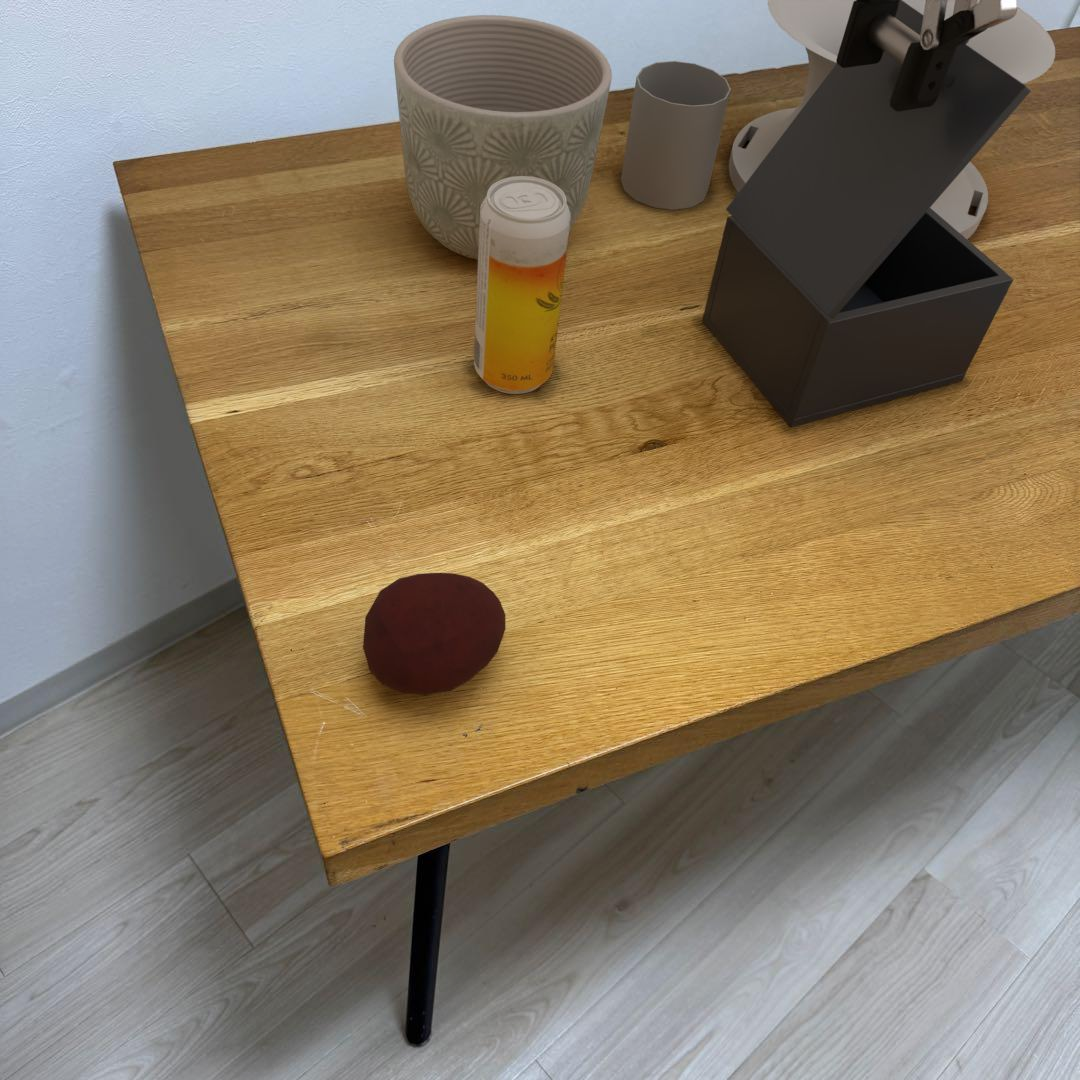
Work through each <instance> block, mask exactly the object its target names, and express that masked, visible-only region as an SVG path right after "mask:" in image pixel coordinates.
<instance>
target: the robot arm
mask: <svg viewBox="0 0 1080 1080" xmlns="http://www.w3.org/2000/svg"><path fill="white" fill-rule="evenodd" d="M899 1H900V0H856V1H854V2H853V6H852V9H851V12H850V16H849V19H848V22H847V26H846V29H845V32H844V36H843V39H842V43H841V46H840V49H839V53H838V56H837V60H836V62H837V64H838V65H839V66H841V67H842V68H847V67H855V66H862V65H870V64H876V63H878V62H879V61H880V60H881V58H882V55H883V52H884V50H882V49H881V48H880V47H878V46H877V45H876V44H874V43H873V42H872V41H870V40H869V37H868V30H869V27H870V25H871V23H872V22H873V20H874V19H875V18H876V17H877V16H879V15H880V14H883V13H889V14H890V15H892V16H893V17H895V16H896V13H897V10H898V4H899ZM946 7H947V0H926V2H925V8H924V15H923V22H922V28H921V35H920V42H915V43H911V44H910V46H909V47H908V50H907V53H906V56H905V59H904V61H903V64H902V67H901V70H900V73H899V76H898V79H897V82H896V85H895V87H894V90H893V93H892V96H891V99H890V107H891V108H893V109H894V110H895V111H897V112H898V111H905V110H911V109H918V108H924V107H930V106H932V105H933V104H934V103H935V102H936V100H937V97H938V95H939V92H940V89H941V87H942V84H943V81H944V79H945V76H946V74H947V71H948V68H949V66H950V63H951V60H952V58H953V55H954V53H955V50H956V47H957V46H962V45H965V44H967V43H968V42H969V40H970V39H971V38H973V37H974V36H976V35H978V34H980V33H982V32H983V31H985V30H986V29H987V28H989V27H993V26H995V25H998V24H1000V23H1002V22H1005V21H1007V20H1010V19H1012V18H1013V17H1014V16H1015V15H1016V13H1017V9H1018V8H1019V5H1018V0H980V2H979V3H978V4H977V0H955V5H954V11H953V16H951V17H949V18H948V19H946V20H944V19H945V13H946Z"/></svg>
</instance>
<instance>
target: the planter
mask: <svg viewBox="0 0 1080 1080" xmlns="http://www.w3.org/2000/svg"><path fill="white" fill-rule="evenodd" d="M393 68H394V79H395V88H396V99H397V108H398V118H399V119H398V121H399V130H400V138H401V139H400V140H401V149H402V159H403V160H402V161H403V169H404V170H403V171H404V178H405V183H406V188H407V193H408V197H409V200H410V202H411V205H412V207H413V209H414V212H415V214H416V216H417V218H418V220H419V221H420V224H421V225H422V226H423V228H424V229H425V230H426V231H427V232H428V233H429V235H430V236H432V237H433V238H434V239H435V240H436V241H437V242H438V243H439V244H440V245H442V246H443V247H445V248H447V249H448V250H450V251H451V252H454V253H455V254H457V255H460V256H462V257H466V258H469V259H473V260H477V261H478V250H479V225H480V207H481V204H482V203H483V201H484V199H485V198H486V196H487V192H488V190H489V188H490V187H491V186H492V185H493V184H494V183H496V182H497V181H499V180H502V179H505V178H509V177H516V176H528V177H535V178H540V179H543V180H546V181H549V182H551V183H553V184H554V185H556V186H557V187H559V188H560V189H561V190H562V191H563V192H564V194H565V196H566V203H567V205H568V208H569V210H570V214H571V220H570V229H569V233H570V232H571V230H572V229H573V228H574V226H575V225H576V223H577V221H578V219H579V218H580V216H581V213H582V211H583V209H584V207H585V204H586V201H587V198H588V194H589V191H590V186H591V181H592V178H593V177H592V176H593V173H594V172H593V171H594V167H595V161H596V158H597V153H598V149H599V148H598V147H599V141H600V137H601V133H602V129H603V128H602V127H603V124H604V120H605V119H604V118H605V113H606V108H607V105H608V104H607V103H608V99H609V95H610V89H611V84H612V79H613V73H612V68H611V64H610V63H609V61H608V58H607V57H606V56H605V54H604V53H603V52H602V51H601V50H600V49H599V48H598V47H597V46H596V45H595V44H593V43H592V42H590V41H589V40H587V39H586V38H584V37H582V36H581V35H579V34H577V33H575V32H573V31H571V30H568V29H566V28H563V27H560V26H557V25H555V24H551V23H548V22H545V21H540V20H537V19H532V18H525V17H521V16H519V17H518V16H510V15H496V14H478V15H476V14H475V15H463V16H456V17H451V18H445V19H442V20H439V21H435V22H432V23H428V24H426V25H424V26H422V27H419V28H417V29H416V30H414V31H412V32H411V33H409V34H407V36H406V37H404V38H403V40H402V41H401V42H400V43H399V44H398V46H397V48H396V50H395V52H394V56H393Z"/></svg>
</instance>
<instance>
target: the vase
mask: <svg viewBox="0 0 1080 1080" xmlns="http://www.w3.org/2000/svg"><path fill="white" fill-rule="evenodd" d="M854 1H856V0H767V8H768V11H769V13H770V15H771V17H772V18H773V20H774V22H775V23H776V24H777V26H778V27H779V28H780V29H781V30H783V32H784V33H785V34H787V35H788V36H789V37H791V38H792V39H793V40H794V41H795V42H797V43H798V44H800V45H801V46H803V47H804V48H805V51H806V54H807V60H808V66H809V67H808V80H807V84H806V87H805V91H804V94H803V96H802V98H801V100H800V102H799V103H798V105H797V107H791V108H783V109H780V110H775V111H772V112H769V113H767V114H763V115H760V116H759V117H757V118H755V119H753V120H752V121H750V122H749V123H747V124H746V125H744V126H743V128H742V129H741V130H739V132H738V133H737V135H736V136H735V138H734V141H733V144H732V148H731V152H730V156H729V161H728V174H729V178H730V181H731V183H732V186H733V188H734V189H735V190H736V192H737V194H738V193H739V191H740V190H741V189H742V187H743V186H744V185H745V184H746V182H747V181H748V180H749V178H750V177H751V176H752V174H753V173H754V172H755V170H756V169H757V168H758V166H759V165H760V164H761V162H762V161H763V160H764V158H765V157H766V156H767V154H768V153H769V152H770V151H771V149H772V148H773V147H774V145H775V144H776V143H777V141H778V140H779V139H780V137H781V136H782V135H783V133H784V132H785V131H786V129H787V128H788V127H789V125H790V124H791V123H792V121H793V120H794V119H795V117H796V116H797V115H798V114H799V112H800V111H801V110H802V108H803V107H804V106H805V104H806V103H807V102H808V100H809V99H810V98H811V96H812V95H813V94H814V92H815V91H816V90H817V88H818V87H819V86H820V84H821V83H822V82H823V81H824V79H825V78H826V77H827V75H828V74H829V73H830V71H831V70H832V69H833V67H834V66H835V65H836V63H837V62H836V60H837V56H838V53H839V49H840V46H841V43H842V39H843V36H844V32H845V29H846V26H847V22H848V19H849V16H850V12H851V9H852V6H853V2H854ZM902 1H904V2H905V3H907V4H908V5H910V6H911V7H912V8H914V9H915V10H917V11H918V12H920V13H921V14H923V15H924V8H925V2H926V0H902ZM979 2H980V0H977V4H978V3H979ZM954 5H955V0H947V7H946V13H945V19H944V20H946V19H948V18H949V17H951V16H953V11H954ZM966 45H968V46H969V47H970V48H972V49H973V50H975V51H976V52H978V53H979V54H981V55H982V56H984V57H985V58H986V59H988V60H989V61H991V62H992V63H994V64H995V65H997V66H998V67H1000V68H1001V69H1002V70H1004V71H1005V72H1007V73H1008V74H1010V75H1011V76H1013V77H1014V78H1015V79H1017V80H1018V81H1020V82H1021V83H1023V84H1026V83H1029V82H1032V81H1034V80H1036V79H1037V78H1039V77H1041V76H1042V75H1044V74H1045V73H1046V72H1047V71H1049V69H1050V68H1051V67H1052V65H1053V63H1054V61H1055V59H1056V47H1055V46H1056V45H1055V44H1054V41H1053V39H1052V36H1051V35H1050V34H1049V32H1048V31H1047V30H1046V29H1045V27H1043V26H1042V24H1040V22H1038V21H1037V20H1036V19H1035V18H1034V17H1033V16H1032V15H1030V14H1029V13H1028V12H1026V11H1025V10H1023V9H1022V8H1020V7H1018V9H1017V13H1016V15H1015V16H1014V17H1013V18H1012V19H1010V20H1007V21H1005V22H1002V23H1000V24H998V25H995V26H993V27H989V28H987V29H986V30H985V31H983V32H982V33H980V34H978V35H976V36H974V37H973V38H971V39H970V40H969V42H968V43H967V44H966ZM747 141H749V143H748V144H747V146H746V147H745V148H743V147H744V146H745V145H746V143H747ZM988 204H989V190H988V187H987V184H986V182H985V180H984V177H983V175H982V174H981V172H980V171H979V170H978V169H977V167H976V166H975V165H974V163H972V162H971V161H970V162H969V163H968V164H967V166H966V167H965V168H964V169H963V170H962V171H961V172H960V174H959V175H958V176H957V177H956V178H955V179H954V181H953V182H952V183H951V184H950V185H949V186H948V187H947V189H946V190H945V191H944V192H943V193H942V194H941V195H940V197H939V198H938V199H937V200H936V201H935V202H934V204H933V205H932V206H931V207H930V208H931V209H932V210H933V211H935V212H936V213H937V214H938V215H939V216H940V217H942V218H943V219H944V220H945V221H946V222H947V223H949V224H950V225H951V226H952V227H953V228H954V229H956V230H957V231H958V232H959V233H960V234H961V235H963V236H964V237H965V238H966V239H967V240H969V238H971V237H972V235H974V233H975V232H976V230H977V229H978V227H979V225H980V223H981V221H982V219H983V217H984V215H985V213H986V210H987V207H988ZM971 207H974V208H975V212H974V215H971V214H969V211H970V208H971Z"/></svg>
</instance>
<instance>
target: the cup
mask: <svg viewBox="0 0 1080 1080" xmlns="http://www.w3.org/2000/svg"><path fill="white" fill-rule="evenodd" d="M633 90H634V91H633V96H632V103H631V110H630V117H629V123H628V130H627V137H626V142H625V143H626V144H625V149H624V155H623V156H624V157H623V162H622V168H621V169H622V170H621V176H620V181H621V182H620V183H621V185H622V188H623V191H624V192H625V193H626V194H627V195H629V196H630V197H631V198H632V199H633V200H634V201H636V202H639V203H641V204H643V205H645V206H649V207H651V208H656V209H662V210H670V211H675V210H677V211H678V210H683V209H691V208H693V207H695V206H697V205H699V204H701V203H702V202H704V201H705V199H706V197H707V195H708V193H709V189H710V186H711V185H710V184H711V179H712V175H713V172H714V166H715V162H716V157H717V153H718V148H719V144H720V140H721V135H722V131H723V130H722V129H723V127H724V123H725V118H726V113H727V108H728V105H729V99H730V95H731V91H732V89H731V86H730V84H729V82H728V80H727V78H725V77H724V76H722V75H721V74H719V73H718V72H717V71H716V70H714V69H712V68H710V67H709V68H708V67H706V66H702V65H700V64H697V63H695V62H694V63H693V62H684V61H677V60H669V61H658V62H657V61H656V62H653V63H651V64H648V65H647V66H644V67H642V68H641V69H640V71H639V72H638V74H637V75H636V77H635V84H634V89H633Z"/></svg>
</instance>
